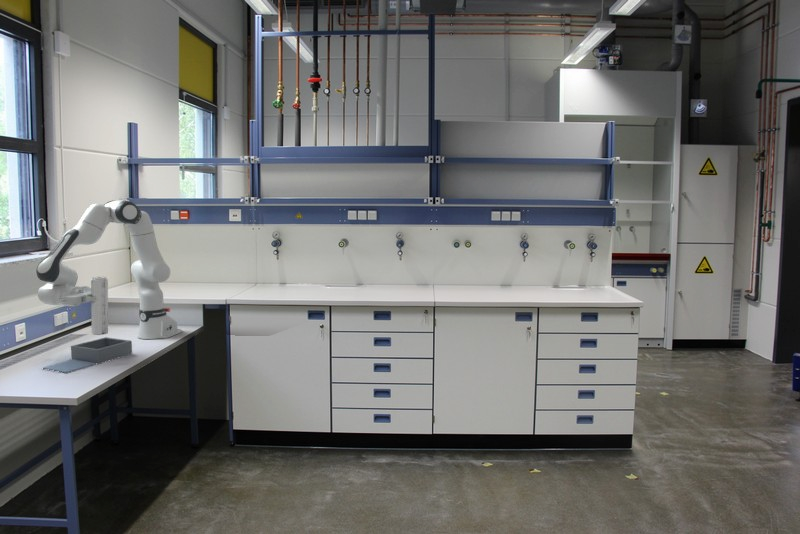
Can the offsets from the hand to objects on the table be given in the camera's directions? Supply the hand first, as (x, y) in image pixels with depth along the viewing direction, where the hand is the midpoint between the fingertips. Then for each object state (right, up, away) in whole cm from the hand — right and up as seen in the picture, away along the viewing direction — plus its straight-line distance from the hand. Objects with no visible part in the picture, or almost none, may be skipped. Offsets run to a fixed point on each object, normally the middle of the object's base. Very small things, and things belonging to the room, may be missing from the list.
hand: (101, 297), depth 261 cm
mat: (-7, -28, -13) cm, 32 cm away
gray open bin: (-1, -26, +3) cm, 27 cm away
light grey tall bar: (-1, -16, +1) cm, 16 cm away
